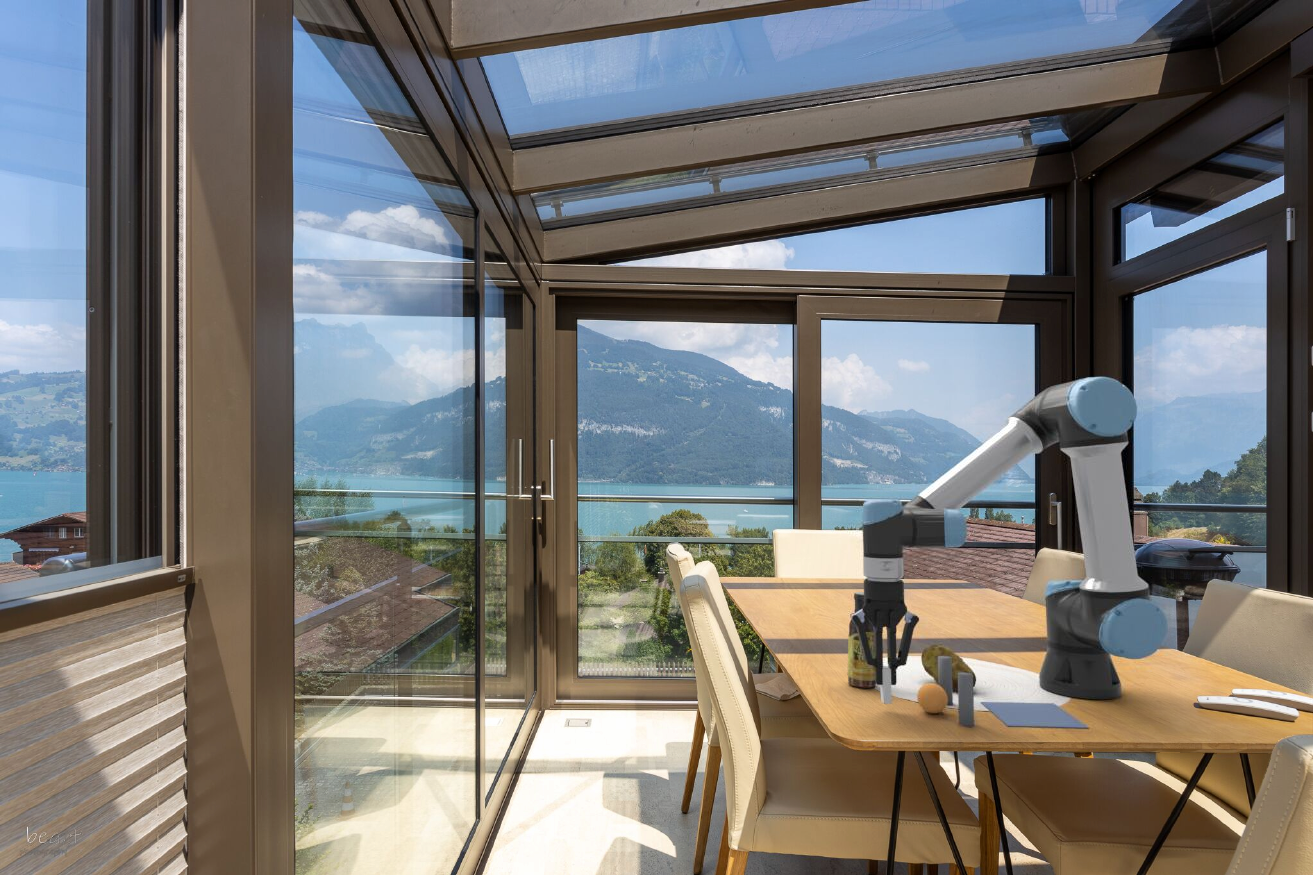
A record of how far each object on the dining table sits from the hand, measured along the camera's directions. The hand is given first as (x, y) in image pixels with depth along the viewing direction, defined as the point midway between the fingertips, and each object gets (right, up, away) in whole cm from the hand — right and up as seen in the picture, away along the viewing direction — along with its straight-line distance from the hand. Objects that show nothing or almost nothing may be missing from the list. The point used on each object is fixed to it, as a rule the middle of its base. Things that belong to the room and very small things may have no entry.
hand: (886, 701), depth 142 cm
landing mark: (+27, -2, -3) cm, 27 cm away
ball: (+9, +1, -1) cm, 9 cm away
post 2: (+12, -1, -8) cm, 15 cm away
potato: (+19, -3, +17) cm, 26 cm away
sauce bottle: (+1, -3, +18) cm, 18 cm away
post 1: (+13, -2, +5) cm, 15 cm away
